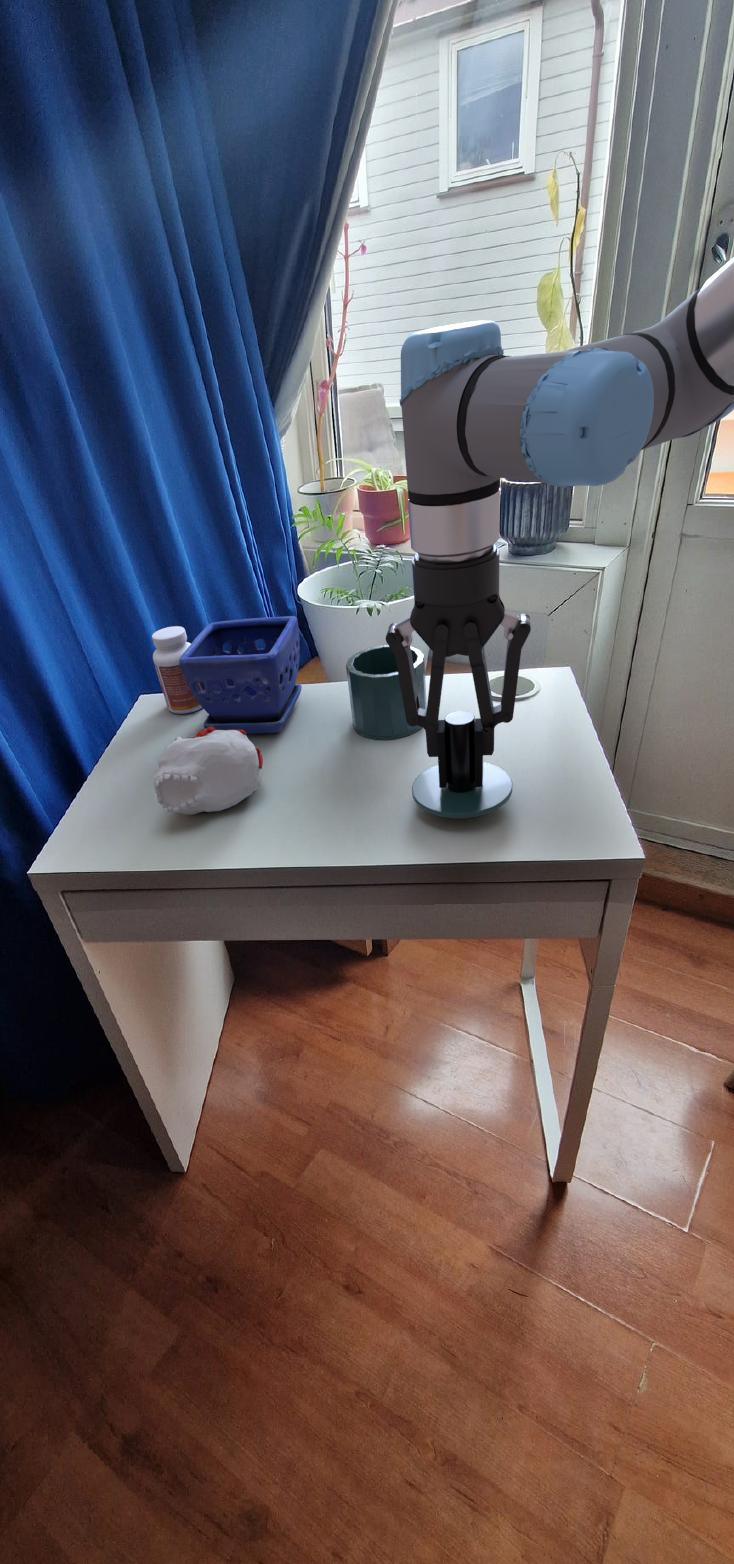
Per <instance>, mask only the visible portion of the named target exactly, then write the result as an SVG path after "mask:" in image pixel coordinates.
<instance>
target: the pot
mask: <svg viewBox="0 0 734 1564" xmlns="http://www.w3.org/2000/svg"><path fill="white" fill-rule="evenodd" d="M410 647H411V652H412V658H413V665H414V671H415V677H416V683H417V689H418V696H419V702H420V708H421V709H424V710H427V703H428V701H427V685H426V666H425V655H424V653H423V651H422V650H420V649H419V648H416V647H413V646H412V645H410ZM345 670H346V671H345V672H346V679H347V686H348V694H349V703H350V710H351V720H352V724H353V728H354V730H355V732H356V733H357V734H359V735H360V736H362V737H364V738H368V739H371V740H377V741H378V740H379V741H383V740H384V741H387V740H398V739H402V738H405V737H408V736H411V735H414V734H415V733H418V731H420V730H421V729H423V728H422V727H420V726H417V725H416V726H414V727H413V726H409V725H408V724H407V721H406V715H405V709H404V704H403V698H402V692H401V687H400V681H399V676H398V670H397V664H396V659H395V656H394V654H393V652H392V651H391V649H390V647H389V645H388V644H381V645H377V646H372V647H368V648H365V649H362V650H360V651H358V652H356V653H354V654H353V655H352V656H350V657H349V658H348V659H347V662H346V664H345Z"/></svg>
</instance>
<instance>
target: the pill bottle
mask: <svg viewBox="0 0 734 1564" xmlns="http://www.w3.org/2000/svg"><path fill="white" fill-rule="evenodd" d="M151 639H152V642H153V646H154V648H156V649H155V650H154V652H153V653H152V660H153V664H154V668H155V671H156V675H157V678H158V681H159V683H160V684H159V685H160V688H161V691H162V694H163V697H164V701H165V704H166V707H167V708H168V710H169V712H171V713H174V714H179V715H180V714H189V713H194V712H197V711H199V710H200V709H203V708H202V706H201V705H200V704H199V702H198V701H197V700H196V698H195V697H194V695H193V693H192V692H191V690H190V688H189V686H188V684H187V682H186V679H185V677H184V675H183V673H182V670H181V667H180V664H179V659H180V657H181V656H182V654H183V653H184V652H185V651H186V649H187V648H188V647H189V646H190V645H191V643H190V642H188V641H187V640H188V636H187V632H186V629H185V628H184V627H183V626H178V625H175V626H167V627H164V628H161V629H158V630H156V631H154V632H153V633H152V635H151ZM198 684H199V687H200V690H201V691H202V688H201V686H200V683H199V682H198Z"/></svg>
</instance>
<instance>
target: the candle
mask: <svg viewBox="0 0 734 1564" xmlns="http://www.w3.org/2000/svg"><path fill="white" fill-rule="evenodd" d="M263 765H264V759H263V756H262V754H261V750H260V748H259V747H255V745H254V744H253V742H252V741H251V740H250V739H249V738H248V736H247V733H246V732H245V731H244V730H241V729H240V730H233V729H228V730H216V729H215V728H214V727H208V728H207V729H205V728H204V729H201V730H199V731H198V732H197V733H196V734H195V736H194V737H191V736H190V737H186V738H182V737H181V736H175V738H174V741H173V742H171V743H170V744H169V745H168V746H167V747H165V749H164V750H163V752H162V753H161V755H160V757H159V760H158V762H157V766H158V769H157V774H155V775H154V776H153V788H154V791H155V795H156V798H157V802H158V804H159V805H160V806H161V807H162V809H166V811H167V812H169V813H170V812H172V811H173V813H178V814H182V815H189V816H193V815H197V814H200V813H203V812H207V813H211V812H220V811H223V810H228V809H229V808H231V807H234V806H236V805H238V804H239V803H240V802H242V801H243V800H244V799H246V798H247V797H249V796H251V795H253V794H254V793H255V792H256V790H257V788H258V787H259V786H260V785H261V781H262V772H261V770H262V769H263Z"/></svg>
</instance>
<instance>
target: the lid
mask: <svg viewBox="0 0 734 1564" xmlns="http://www.w3.org/2000/svg"><path fill="white" fill-rule="evenodd" d="M475 719H476V717H475V714H474V713H473V712H470V711H467V710H457V711H452V712H450V713H448V714H446V715H445V716H444V720H445V740H446V764H447V788H439V768H438V764H436V765H432V766H431V767H429V768H427V769H425V770H423V771H422V772H421V773H420V774H419V775H417V777H415V779H414V781H413V782H412V786H411V794H412V799H413V801H414V803H415V804H416V805H417V806H418V807H419V808H420V809H422V810H423V811H424V812H426V813H428V814H431V815H433V816H437V817H441V818H448V819H469V818H476V817H480V816H485V815H487V814H490V813H493V812H494V811H496V810H498V809H500V808H502V806H504V805H505V804H507V802H508V801H509V800H510V798H511V797H512V793H513V780H512V778H511V776H510V774H509V773H508V772H507V771H506V770H504V769H503V768H501V767H499V766H497V765H495V764H493V763H489V762H486V761H483V785H482V787H475V746H474V729H475Z"/></svg>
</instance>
